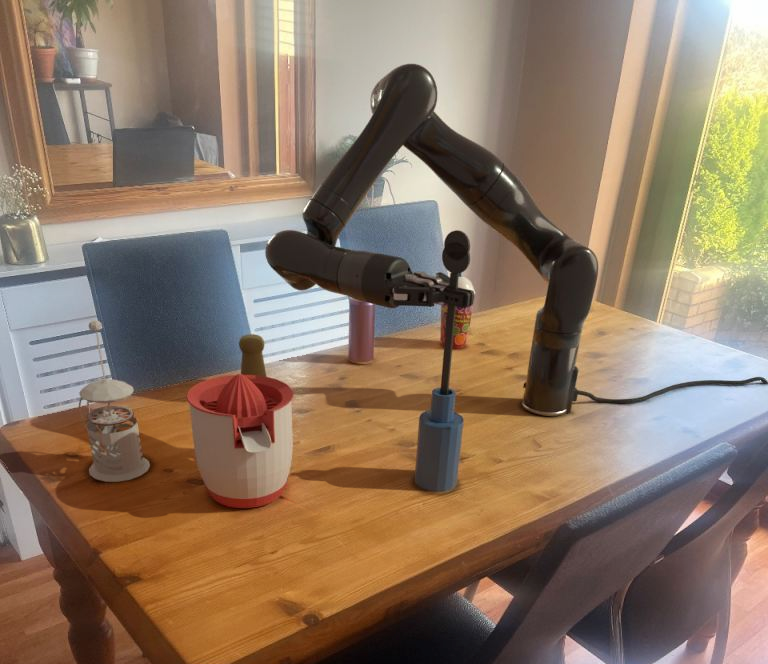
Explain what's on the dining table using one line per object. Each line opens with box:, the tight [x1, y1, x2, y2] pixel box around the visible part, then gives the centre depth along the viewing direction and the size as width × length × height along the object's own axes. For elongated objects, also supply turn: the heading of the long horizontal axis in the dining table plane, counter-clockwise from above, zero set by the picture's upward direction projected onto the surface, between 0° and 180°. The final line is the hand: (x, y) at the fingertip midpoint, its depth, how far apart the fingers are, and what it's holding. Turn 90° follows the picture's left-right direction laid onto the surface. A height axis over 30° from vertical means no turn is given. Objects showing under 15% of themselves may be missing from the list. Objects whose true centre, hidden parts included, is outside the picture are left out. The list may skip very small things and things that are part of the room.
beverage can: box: [347, 297, 376, 365], centre depth 166 cm, size 6×6×15 cm
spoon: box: [440, 229, 471, 395], centre depth 107 cm, size 1×4×28 cm, turn 54°
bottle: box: [414, 387, 465, 493], centre depth 116 cm, size 7×7×16 cm
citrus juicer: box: [186, 373, 294, 509], centre depth 110 cm, size 16×17×20 cm
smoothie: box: [439, 273, 477, 350], centre depth 177 cm, size 8×8×20 cm
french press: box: [78, 319, 151, 483], centre depth 115 cm, size 10×12×25 cm
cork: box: [238, 333, 268, 377], centre depth 151 cm, size 6×6×11 cm
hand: (470, 299), depth 103 cm, fingers closed on spoon, 1 cm apart
